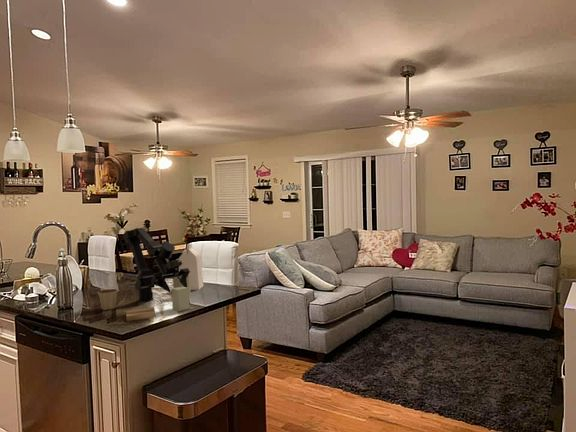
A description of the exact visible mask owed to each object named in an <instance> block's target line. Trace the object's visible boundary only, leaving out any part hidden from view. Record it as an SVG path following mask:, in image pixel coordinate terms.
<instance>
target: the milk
mask: <svg viewBox="0 0 576 432" xmlns="http://www.w3.org/2000/svg"><path fill="white" fill-rule="evenodd" d="M178 259H180V260H181V261H182V265H180V266H179V267H178V272H179V271H180V269H184V268H188V269H189V271H190V273H189V274H190V291H196V290H197V291H198V290H200V289H202V288H203V286H204V277H203V275H204V274H203V268H202V267H203V265H202V257H201V254H200V253H199V252H198V251H196V250H195V249H194V248H193V244H192V243H187V244H186V249H184V250H183V251H182V252H181V254H180V256H179V258H178Z"/></svg>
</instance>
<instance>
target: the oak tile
mask: <svg viewBox="0 0 576 432" xmlns="http://www.w3.org/2000/svg"><path fill="white" fill-rule="evenodd" d="M125 313H126V315H125V316H126V322H129V321H137V320H145V319H153V318H156V316H157V315H156V310H155V307H154V306H151V307H143V308H135V309H128V310H126V311H125Z"/></svg>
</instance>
